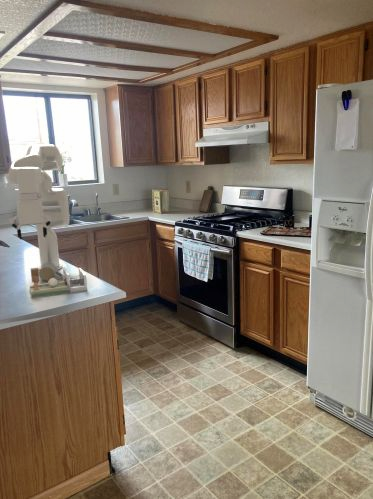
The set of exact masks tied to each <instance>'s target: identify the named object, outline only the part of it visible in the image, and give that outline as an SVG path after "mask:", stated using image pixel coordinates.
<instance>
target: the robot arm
mask: <svg viewBox="0 0 373 499" xmlns="http://www.w3.org/2000/svg"><path fill="white" fill-rule="evenodd" d="M63 163H64V161H63V156H62V154H61V152H60V150H59V148H58V147H57V146H56V145H54V144H32V145H30V146H29V147H28V149H27V152H26V154H25V156H24V157H21V158H19V159H17V160H14V161H13V162H12V163H11V165H10V167H9V170H8V180H9V183H10V184H12V185H13V186H17V189H18V198H19V200H17V204H16V207H17V208H16V210H17V211H16V212H17V214H16V215H15V216H12V217H11V218H9V219H8V222H9V223H10V225H11V227H13V228H14V229H16V232H17V238H19V240H22V239H23V238H22V237H23V236H22V231H21V228H22V227H23V226H30V225H35V229H36V233H37V240H38V241H37V242H38V250H39V251H38V252H39V259H40V260H39V262H40V265H39V266H37V268H38V271H40V269H41V266H42V265H43V264H44V263H47V262H50V263H53V264H54V265H55V266H56V268H57V271H58V270H61V269H63V268H64V267H63V264H62V263H60V256H59V247H58V236H57V235H58V234H57V233H56V232H55V231H54V229H52V228H66V227H67V226H69V225H70V210H69V209H70V208H69V197H68V193H67V191H66V190H65V189H64V188H61V187H60V188H59V187H56V188H53V180H52V177H51V176H50V175H49V174H48V173H47V172H46V171H60V170H62V167H63ZM52 207H55V208H54V209H53V208H52ZM56 207H57V208H56ZM43 208H49V209H43ZM16 220H17V223H18V224H16V223H15V222H14V221H16Z"/></svg>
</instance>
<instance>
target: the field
mask: <svg viewBox="0 0 373 499" xmlns="http://www.w3.org/2000/svg"><path fill="white" fill-rule="evenodd" d="M57 282H58V284H57V286H56V287H50V286H49V285H48V282H45V283H38V286H39V290H35V289H34V284H32V285H31V284H30V285H29V289H30V290H29V291H30V295H31V296H30V297H31V298H32V299H34V298H40V297H49V296H54V295H55V296H56V295H62V294H69V293H68V288H67V286H66V284H65V281H64V280H62V281H57Z"/></svg>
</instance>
